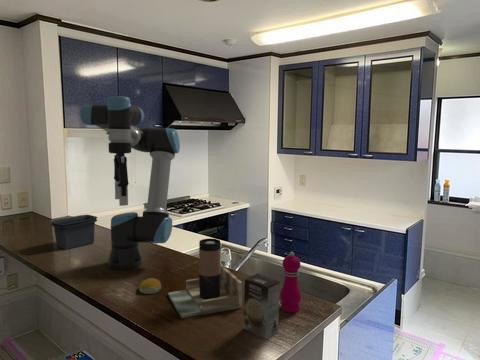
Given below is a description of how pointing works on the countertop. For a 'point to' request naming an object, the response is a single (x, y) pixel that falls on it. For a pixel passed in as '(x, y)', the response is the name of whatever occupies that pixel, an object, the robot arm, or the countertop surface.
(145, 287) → the bread roll
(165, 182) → the robot arm
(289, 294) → the pepper mill
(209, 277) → the travel mug
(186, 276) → the countertop surface
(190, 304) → the stepped plastic tray
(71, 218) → the storage bin
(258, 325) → the coffee box
